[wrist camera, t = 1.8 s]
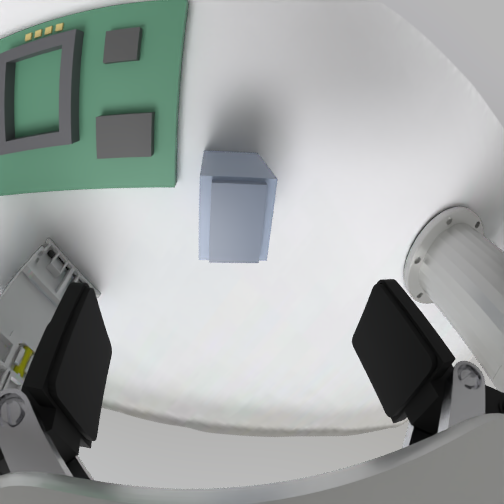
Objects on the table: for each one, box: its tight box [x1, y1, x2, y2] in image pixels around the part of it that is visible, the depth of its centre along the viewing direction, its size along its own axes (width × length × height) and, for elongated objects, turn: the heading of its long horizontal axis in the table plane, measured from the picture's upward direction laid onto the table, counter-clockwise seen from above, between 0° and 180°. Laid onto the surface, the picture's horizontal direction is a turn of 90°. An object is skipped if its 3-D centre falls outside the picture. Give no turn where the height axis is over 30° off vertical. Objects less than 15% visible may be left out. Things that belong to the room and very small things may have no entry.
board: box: [0, 0, 188, 196], centre depth 15 cm, size 18×14×3 cm
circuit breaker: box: [0, 238, 101, 392], centre depth 18 cm, size 8×14×15 cm, turn 120°
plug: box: [199, 151, 277, 263], centre depth 19 cm, size 4×5×8 cm
